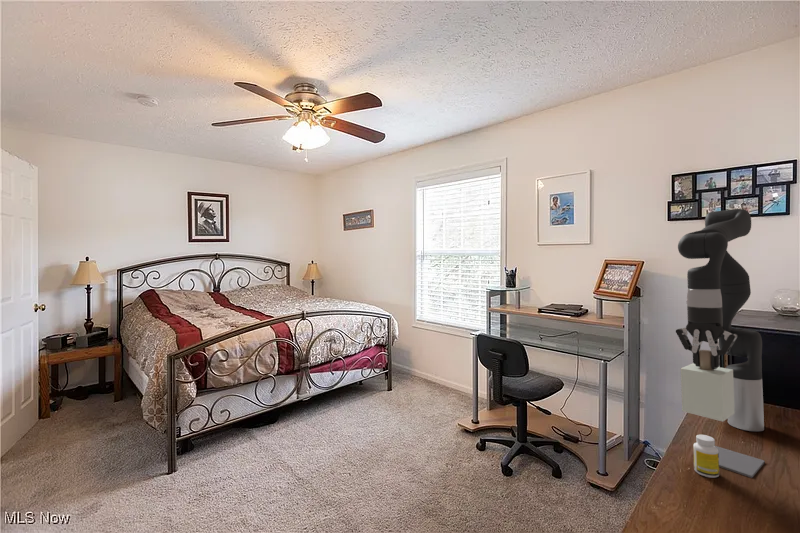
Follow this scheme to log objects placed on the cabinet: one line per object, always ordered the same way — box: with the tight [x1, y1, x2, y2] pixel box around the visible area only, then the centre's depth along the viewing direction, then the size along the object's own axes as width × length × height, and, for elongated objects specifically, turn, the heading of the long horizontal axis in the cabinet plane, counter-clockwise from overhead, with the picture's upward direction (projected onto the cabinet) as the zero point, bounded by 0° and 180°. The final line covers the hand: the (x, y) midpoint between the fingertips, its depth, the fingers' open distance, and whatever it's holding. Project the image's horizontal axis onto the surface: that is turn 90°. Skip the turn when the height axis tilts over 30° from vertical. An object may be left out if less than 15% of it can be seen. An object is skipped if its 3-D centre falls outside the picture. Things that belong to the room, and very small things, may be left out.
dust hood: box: [680, 349, 734, 423], centre depth 103 cm, size 9×9×17 cm
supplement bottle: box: [692, 434, 720, 479], centre depth 103 cm, size 5×5×10 cm
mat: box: [714, 444, 765, 479], centre depth 108 cm, size 12×12×1 cm
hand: (706, 367), depth 103 cm, fingers closed on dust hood, 3 cm apart
